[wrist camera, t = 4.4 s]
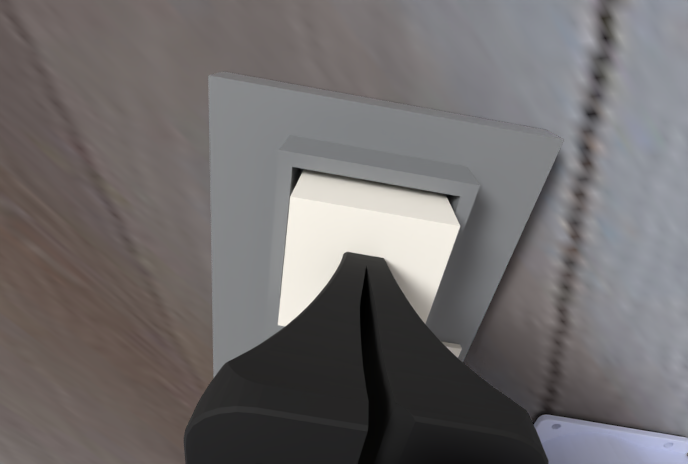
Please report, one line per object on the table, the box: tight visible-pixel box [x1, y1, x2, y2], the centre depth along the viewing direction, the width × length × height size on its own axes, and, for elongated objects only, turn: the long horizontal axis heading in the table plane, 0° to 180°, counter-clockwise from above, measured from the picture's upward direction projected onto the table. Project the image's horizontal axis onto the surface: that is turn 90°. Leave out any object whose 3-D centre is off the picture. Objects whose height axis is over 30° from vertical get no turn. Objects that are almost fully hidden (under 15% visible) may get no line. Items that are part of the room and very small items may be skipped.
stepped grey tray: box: [208, 71, 564, 377], centre depth 19 cm, size 13×26×4 cm, turn 171°
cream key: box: [278, 169, 460, 326], centre depth 13 cm, size 5×5×2 cm
